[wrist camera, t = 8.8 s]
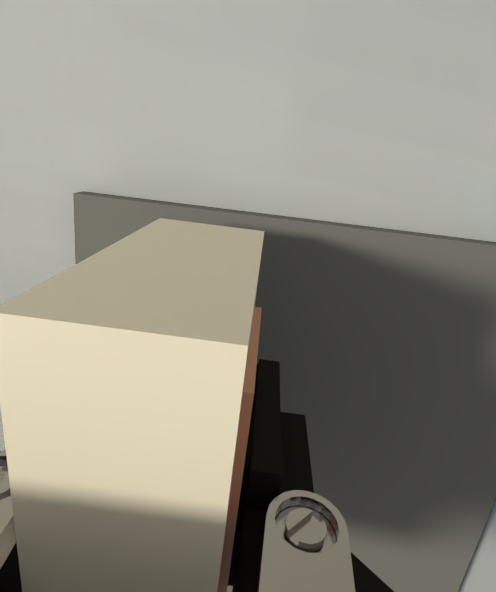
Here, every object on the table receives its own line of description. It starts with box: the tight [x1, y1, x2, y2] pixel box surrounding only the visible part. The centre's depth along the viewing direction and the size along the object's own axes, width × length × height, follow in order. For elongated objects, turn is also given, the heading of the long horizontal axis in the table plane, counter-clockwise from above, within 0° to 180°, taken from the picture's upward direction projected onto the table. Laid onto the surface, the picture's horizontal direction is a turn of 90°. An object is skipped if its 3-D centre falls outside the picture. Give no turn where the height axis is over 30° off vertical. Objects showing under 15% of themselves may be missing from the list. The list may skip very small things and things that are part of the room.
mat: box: [74, 192, 496, 592], centre depth 14 cm, size 16×14×1 cm
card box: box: [0, 218, 264, 592], centre depth 8 cm, size 9×3×6 cm, turn 173°
